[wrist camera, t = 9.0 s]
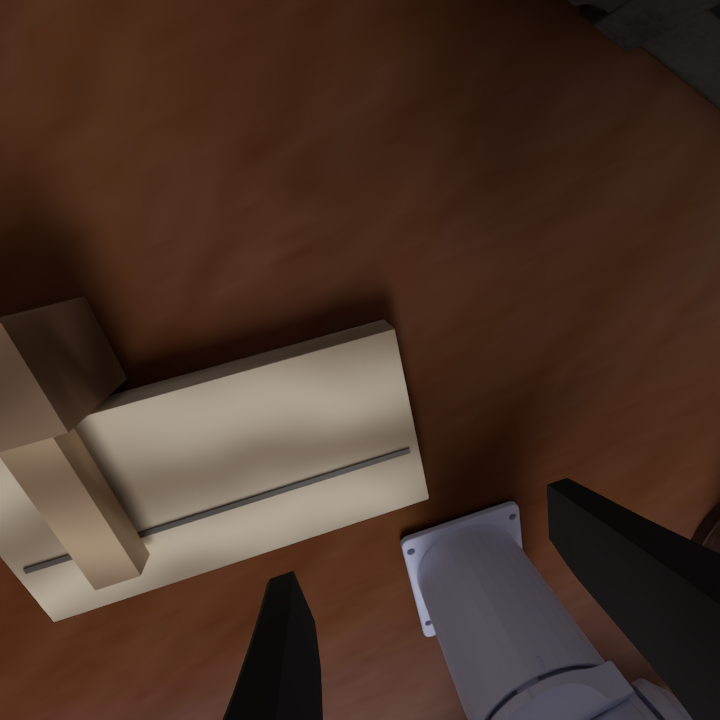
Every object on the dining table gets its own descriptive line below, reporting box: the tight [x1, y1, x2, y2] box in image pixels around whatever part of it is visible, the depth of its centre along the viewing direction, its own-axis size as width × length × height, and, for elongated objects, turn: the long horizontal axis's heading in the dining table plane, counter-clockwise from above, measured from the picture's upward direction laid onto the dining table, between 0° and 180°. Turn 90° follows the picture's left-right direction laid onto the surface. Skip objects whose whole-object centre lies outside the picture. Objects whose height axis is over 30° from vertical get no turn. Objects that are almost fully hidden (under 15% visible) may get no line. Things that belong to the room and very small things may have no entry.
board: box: [0, 319, 429, 622], centre depth 18 cm, size 10×20×2 cm, turn 103°
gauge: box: [0, 296, 150, 591], centre depth 15 cm, size 12×5×6 cm, turn 13°
